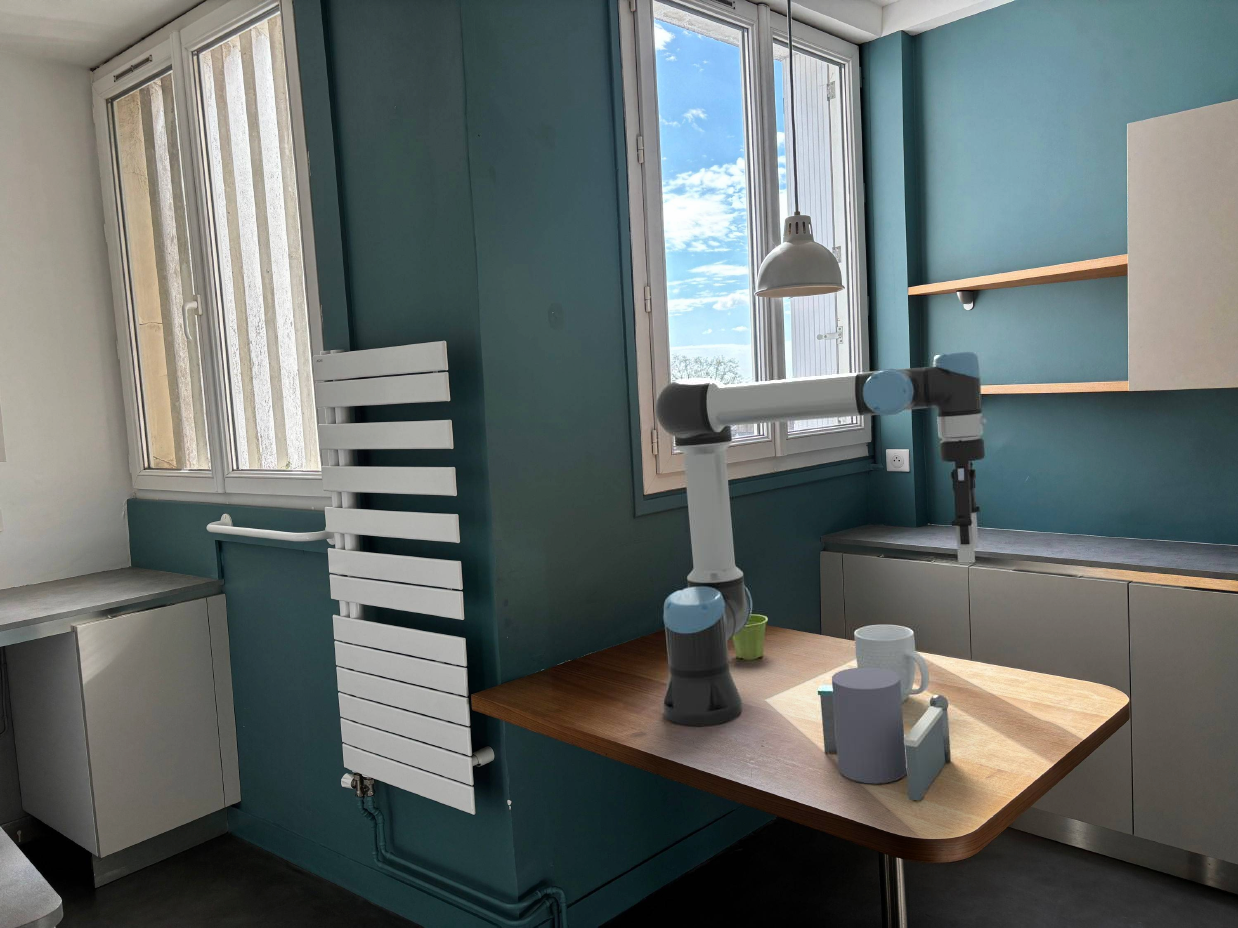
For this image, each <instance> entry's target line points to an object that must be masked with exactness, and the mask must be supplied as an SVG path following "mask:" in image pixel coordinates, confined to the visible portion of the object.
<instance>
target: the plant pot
mask: <svg viewBox="0 0 1238 928" xmlns="http://www.w3.org/2000/svg"><path fill="white" fill-rule="evenodd" d="M767 622H768V617H767V616H766V615H761V614H752V613H751V615H750V618H749V620H748V622H747V624H746V625H745V627H744V628H743V629H742V630H741V631H740V632H739V633H737V634H736V635H734V636H733V637H732V641H733V645H734V649H735V654H736V657H737V658H738V659H741V658H742V659H743V660H745V661H747V660H748V661H749V660H756V659H759V657H764V646H765V645H764V643H765V630H766V627H767Z"/></svg>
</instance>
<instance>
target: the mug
mask: <svg viewBox="0 0 1238 928" xmlns="http://www.w3.org/2000/svg"><path fill="white" fill-rule="evenodd" d="M853 634H854V635H853V636H854V648H855V651H854V652H855V658H856V659H855V661H856V668H862V667H870V668H881V669H886V670H890V671H893V672H895V673H896V674H898V675H899V676H900V685H901V699H902V703H903V702H905V701H906V700H907V699H908V697H909V696H912V695H919V694H922V693H924V692H925V691H926V690H927V688H928V687H929V683H930V672H929V668H928V665H927V663H926V661H925V659H924V658H923V656H922V655H921V654H920V653H918V652H917V651H916V642H915V633H914V631H913V630H912V629H911V628H909V627H906V626H902V625H896V624H873V625H866V626H863V627H860V628H858V629H856V630H854V633H853ZM916 666H918V668H919V672H920V676H921V679H920V680H921V682H920V686H919V687H918V688H917V689H913V686H914V684H915V679H916V673H917V672H916V670H917V669H916V668H917V667H916Z"/></svg>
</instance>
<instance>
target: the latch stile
mask: <svg viewBox="0 0 1238 928" xmlns="http://www.w3.org/2000/svg"><path fill="white" fill-rule="evenodd" d="M817 696H820V708H821V709H820V710H821V711H820V712H821V720H822V721H821V722H822V731H823V732H822V734H823V735H822V736H823V748H824V754H830V755H831V754H834V755H838V753H837V740H836V727H835V714H834V701H833V688H832V685H825V684H822V685H820V686H819V688H818V689H817Z"/></svg>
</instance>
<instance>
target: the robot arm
mask: <svg viewBox="0 0 1238 928" xmlns="http://www.w3.org/2000/svg"><path fill="white" fill-rule="evenodd" d="M981 390H982V386H981V374H980V366H979V358H978V355H977V354H975V353H974V352H973V351H963V352H952V353H943V354H942V353H941V354H937V355H935V356H934V358H933V363H932V365H930V366H924V367H913V368H901V369H900V368H899V369H894V368H884V369H879V370H874V371H873V370H872V371H864V372H863V371H862V372H853V373H852V372H851V373H842V374H830V375H821V376H809V377H798V378H790V379H788V378H787V379H780V380H779V379H777V380H769V381H768V380H767V381H757V382H756V381H755V382H747V383H746V382H745V383H736V384H726V385H725V384H723V383H722V382H720V381H718V380H715V379H713V378H709V377H706V378H705V377H698V378H689V379H688V378H685V379H684V378H683V379H678V380H674V381H673V382H670V383H669V384H668V385H666V386H665V387H664V388H663V389H662V390H661V392H660V393H659V395H658V398H657V400H656V405H655V413H656V418H657V419H656V420H657V421H658V423H659V425H660V426H661V428H662V429H663V430H664V431H665V432H666V433H668V434H669V435H671V436H673V437H674V444H675V448H676V449H677V450H678V451H679V452H681V454H682V455H683V461H684V462H683V463H684V473H685V474H684V475H685V484H686V485H685V486H686V495H687V506H688V507H687V508H688V518H689V530H690V540H691V541H690V542H691V550H692V551H691V552H692V554H691V555H692V563H693V568H692V570H691V572H689V574H688V575H687V576H686V577H687V578H686V579H687V587H685V588H682V589H681V590H676V591H674V592H673V593H671V594H670V595H668V597H666V599H665V600H664V604H663V616H662V617H663V622H664V623H663V624H664V629H665V640H666V651H667V661H668V662H667V663H668V671H669V677H668V680H667V681H668V682H667V685H666V689H665V694H664V698H663V716H664V718H666V719H667V720H668V721H670V722H671V723H674V724H678V725H682V726H690V727H691V726H693V727H698V726H700V727H701V726H712V725H718V724H719V725H720V724H722V723H727V722H729V721H732V720H734V719H736V718H737V717H738V716H740V714H742V713H741V712H742V698H741V695H740V693H739V691H738V688H737V686H736V683H735V682H734V679H733V676H732V674H731V671H730V663H729V662H730V661H729V652H728V651H729V650H728V642H729V641H730V640H731V639H733V636H734V635H736V634H737V633H739V632H740V631H741V630H742V629H743V628H744V627H745V625H746V624H747V622H748V620H749V618H750V615H751V614H752V611H753V599H752V596H751V594H750V591H749V589H748V588H747V587H746V585H745V578H744V572H743V571H742V570H741V569H740V568H739V567H737V566H736V562H735V551H734V550H735V549H734V537H733V528H732V527H733V526H732V515H731V513H732V512H731V504H730V503H731V501H730V492H729V491H730V490H729V479H728V469H727V468H728V467H727V465H728V464H727V458H726V457H727V454H726V450H727V449H728V448H729V446H730V445H731V444H732V443H733V439H732V426H733V427H734V426H745V425H755V424H756V425H757V424H769V423H770V424H771V423H781V422H783V423H784V422H796V421H806V420H807V421H808V420H809V421H810V420H822V419H833V418H834V419H835V418H847V417H860V416H861V417H862V416H863V417H864V416H876V415H877V416H879V415H882V416H890V415H891V416H892V415H898V414H900V413H901V412H903V411H910V410H918V409H932V408H936V412H937V414H936V415H937V416H936V417H937V418H936V419H937V433H938V434H937V435H938V438H940V439H941V441H940V442H939V443H938V445H939V458H940V460H941V461H942V462H945V463H952V462H953V463H954V468H953V469H952V470H951V472H950V474H951V476H950V477H951V481H952V492H953V495H954V520H951V527H955V532H956V533H955V534H956V547H957V562H958V564H959V563H963V564H964V563H976V557H975V555H976V554H975V549H979V538H978V537H979V535H978V519H977V513H980V512H981V510H980V509H981V508H980V506H977V502H976V493H975V489H976V474H977V472H976V469H975V468H974V469H973V466H974V463H973V462H975V461H980V460H983V459H985V457H986V455H985V454H986V452H985V451H986V450H985V440H984V439H983V438H981V436H982V435H983V434H984V427H983V425H984V424H986V423H987V419H986V418H983V417H982V416H983V415H982V413H983V409H982V407H983V406H982V405H983V404H982V391H981ZM972 461H973V462H972Z"/></svg>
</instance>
